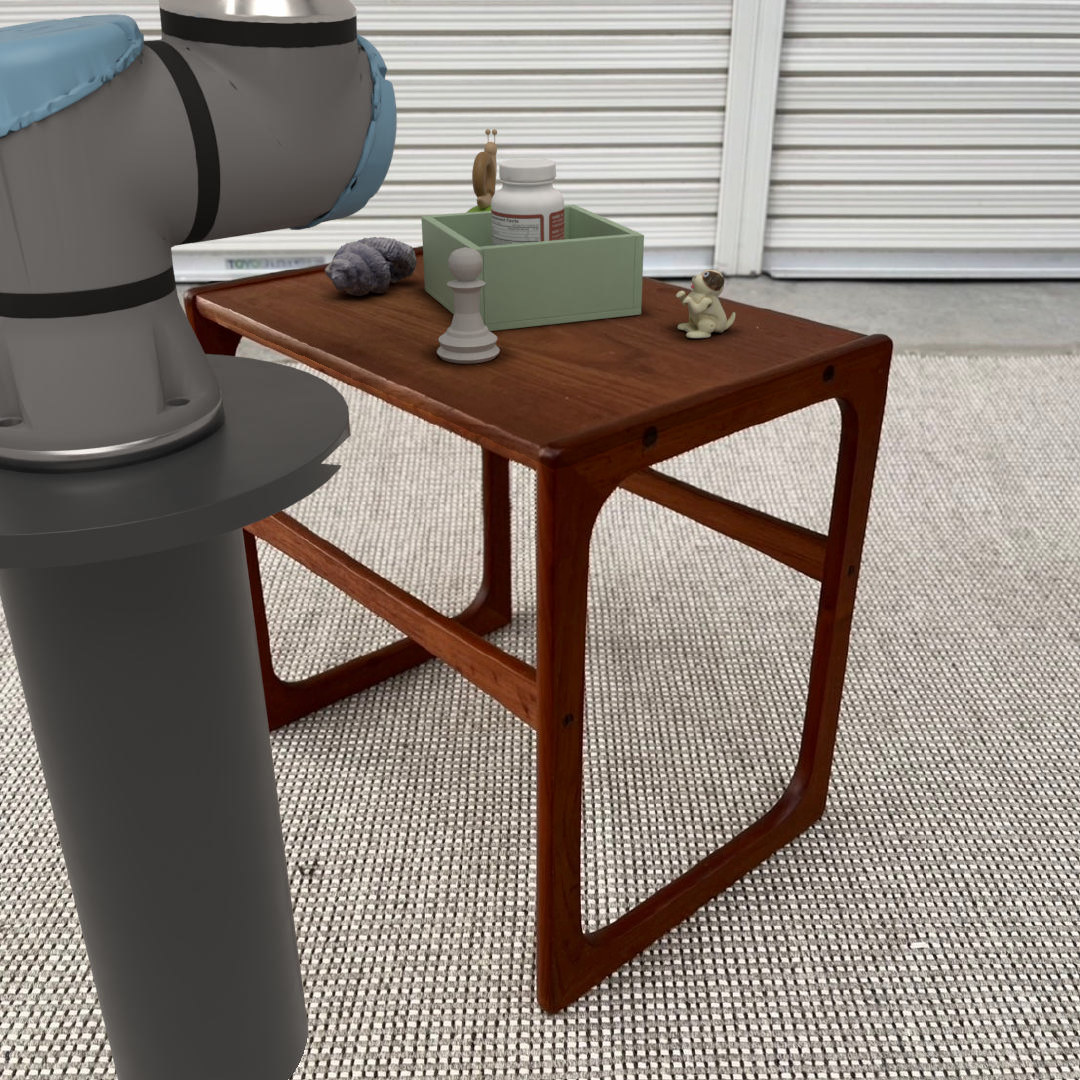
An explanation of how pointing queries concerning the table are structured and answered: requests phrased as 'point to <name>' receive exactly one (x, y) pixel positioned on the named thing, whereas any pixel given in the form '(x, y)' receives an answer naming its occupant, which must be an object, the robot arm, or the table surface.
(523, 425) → the table surface
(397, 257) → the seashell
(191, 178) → the robot arm
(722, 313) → the toy dog
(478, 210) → the snail figurine
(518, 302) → the bin
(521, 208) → the pill bottle
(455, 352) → the chess piece
